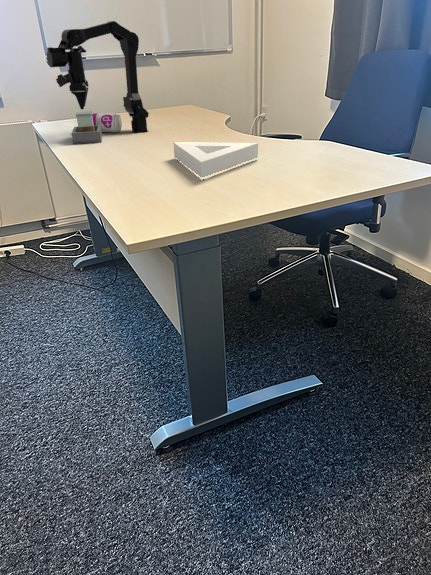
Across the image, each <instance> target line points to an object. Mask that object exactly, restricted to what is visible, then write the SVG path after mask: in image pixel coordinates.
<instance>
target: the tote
mask: <svg viewBox="0 0 431 575" xmlns="http://www.w3.org/2000/svg"><path fill="white" fill-rule="evenodd" d="M94 129H95V131H91V132H79V128H78V126H74V127H73V129H72V131H71V138H72V143H73V145H84V144H85V145H87V144H100V143H102V140H103V132H102V130H101V125H95V126H94Z"/></svg>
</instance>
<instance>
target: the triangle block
mask: <svg viewBox="0 0 431 575" xmlns="http://www.w3.org/2000/svg"><path fill="white" fill-rule="evenodd" d="M173 154H174V155H173V157H175V158H177V159H178V160H179V161H181V162H182V163H183V164H184V165H186V166H187V167H188V168H190V169H191V170H192V171H194V172H195V173H196V174H198V175H199V176H200V177H205V176H208V175H211V174H213V173H216V172H219V171H222V170H225V169H228V168H231V167H233V166H236V165H238V164H241V163H243V162H246V161H249V160H252V159H254V158H257V157H259V143H258V142H193V141H192V142H188V141H187V142H185V141H183V142H182V141H181V142H177V141H174V142H173ZM175 158H174V159H175Z"/></svg>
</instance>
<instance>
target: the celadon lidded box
mask: <svg viewBox="0 0 431 575" xmlns="http://www.w3.org/2000/svg"><path fill="white" fill-rule="evenodd" d="M92 113H93V111H89V110H88V111H77V112H76V113H75V117H76V122H77V127H88V126H93V124H94V123H93V117H92Z"/></svg>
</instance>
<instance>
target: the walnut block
mask: <svg viewBox="0 0 431 575" xmlns="http://www.w3.org/2000/svg"><path fill="white" fill-rule="evenodd" d="M77 127H78V126H77ZM78 128H79V132H91V131H95V129H94V124H93V126H88V127H78Z"/></svg>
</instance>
